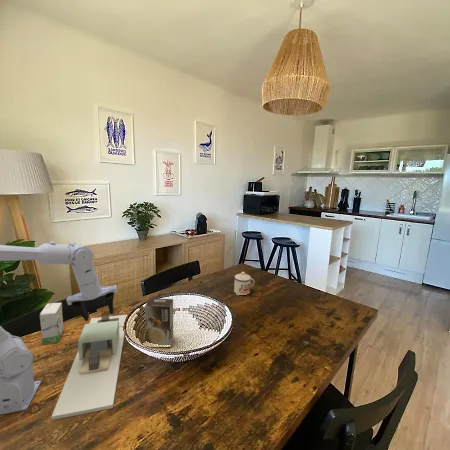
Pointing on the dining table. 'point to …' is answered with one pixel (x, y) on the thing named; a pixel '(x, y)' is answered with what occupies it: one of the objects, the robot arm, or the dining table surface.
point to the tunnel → (98, 335)
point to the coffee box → (159, 321)
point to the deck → (90, 383)
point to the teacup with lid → (242, 284)
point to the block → (99, 345)
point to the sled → (97, 357)
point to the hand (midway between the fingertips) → (99, 315)
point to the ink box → (51, 323)
